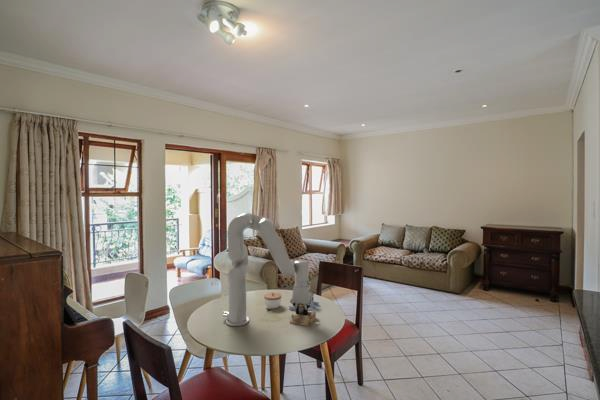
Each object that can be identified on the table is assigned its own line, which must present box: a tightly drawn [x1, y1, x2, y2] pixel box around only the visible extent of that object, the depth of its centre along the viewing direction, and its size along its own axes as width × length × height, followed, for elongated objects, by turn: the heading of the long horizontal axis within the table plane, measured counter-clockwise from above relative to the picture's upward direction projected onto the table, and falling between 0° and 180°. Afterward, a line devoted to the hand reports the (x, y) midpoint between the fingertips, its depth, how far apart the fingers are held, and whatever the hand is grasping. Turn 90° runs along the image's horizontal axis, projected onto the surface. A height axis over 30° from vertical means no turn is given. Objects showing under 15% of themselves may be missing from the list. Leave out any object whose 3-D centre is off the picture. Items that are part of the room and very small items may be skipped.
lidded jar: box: [263, 292, 282, 310], centre depth 184 cm, size 11×11×9 cm
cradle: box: [289, 311, 317, 327], centre depth 164 cm, size 12×10×4 cm
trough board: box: [288, 300, 320, 312], centre depth 182 cm, size 16×13×3 cm
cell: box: [298, 304, 305, 315], centre depth 165 cm, size 4×4×8 cm
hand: (301, 315), depth 165 cm, fingers closed on cell, 3 cm apart
